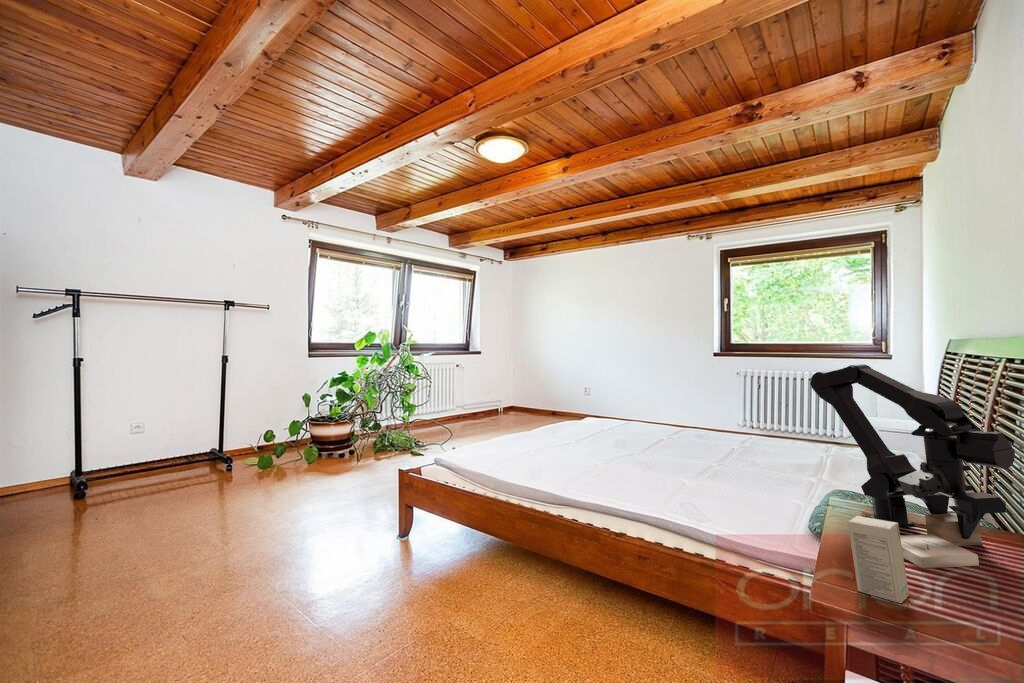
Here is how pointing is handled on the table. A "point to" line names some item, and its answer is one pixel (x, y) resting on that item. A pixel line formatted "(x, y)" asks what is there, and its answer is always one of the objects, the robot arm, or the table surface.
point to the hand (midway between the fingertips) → (953, 533)
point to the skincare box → (878, 558)
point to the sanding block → (950, 529)
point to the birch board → (935, 552)
